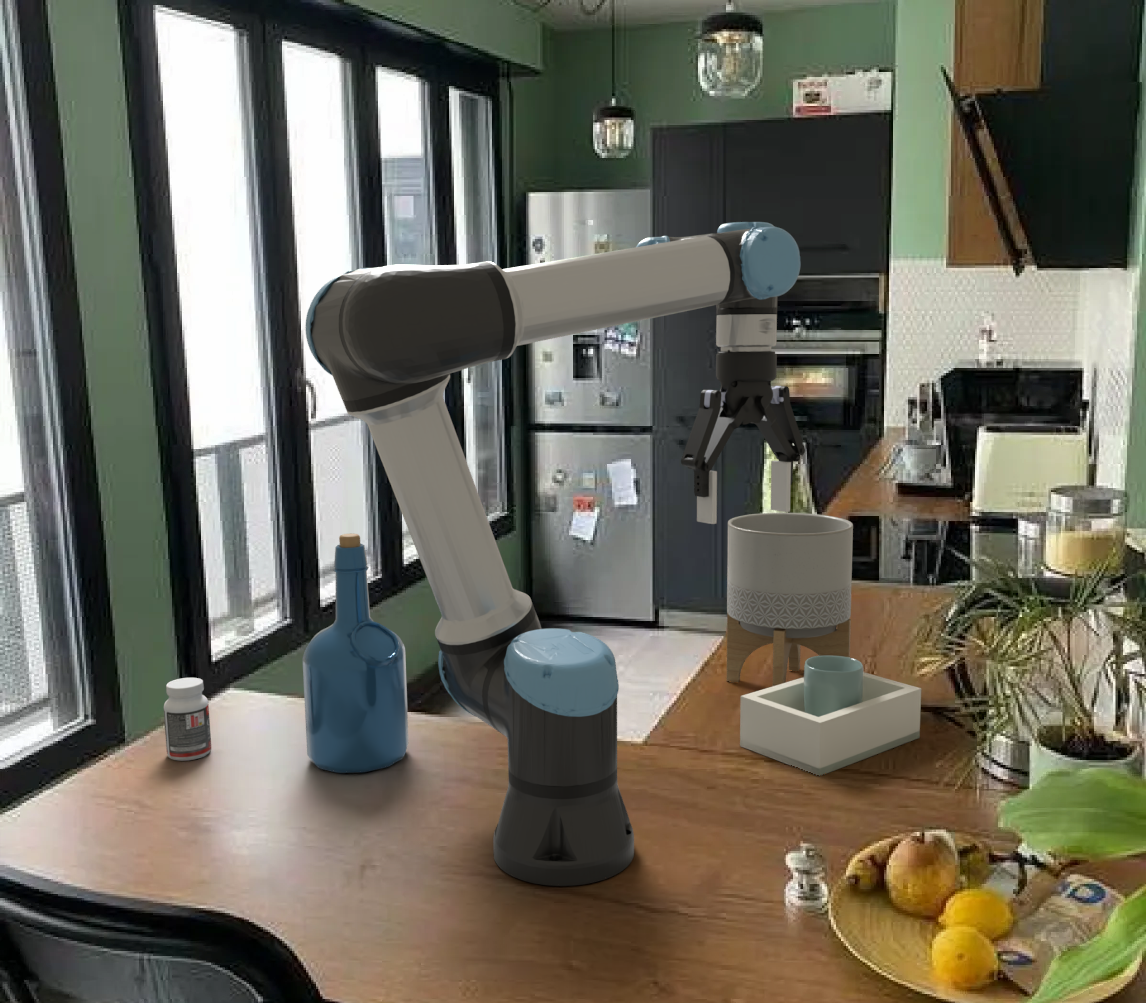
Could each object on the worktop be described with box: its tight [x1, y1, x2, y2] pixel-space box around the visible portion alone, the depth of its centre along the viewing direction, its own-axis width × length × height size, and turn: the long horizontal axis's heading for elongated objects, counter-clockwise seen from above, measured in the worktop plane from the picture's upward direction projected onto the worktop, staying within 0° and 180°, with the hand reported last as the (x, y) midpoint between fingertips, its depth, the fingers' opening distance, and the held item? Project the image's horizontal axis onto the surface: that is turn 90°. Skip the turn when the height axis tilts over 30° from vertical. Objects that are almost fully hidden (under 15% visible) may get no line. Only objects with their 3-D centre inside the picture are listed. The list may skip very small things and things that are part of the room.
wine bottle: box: [302, 533, 409, 774], centre depth 148 cm, size 14×13×30 cm
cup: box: [803, 655, 864, 717], centre depth 153 cm, size 8×8×10 cm
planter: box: [726, 512, 854, 687], centre depth 176 cm, size 19×19×26 cm
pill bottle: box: [163, 677, 212, 762], centre depth 151 cm, size 6×6×10 cm
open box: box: [739, 671, 922, 777], centre depth 153 cm, size 21×14×7 cm, turn 128°
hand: (744, 516), depth 145 cm, fingers open, 13 cm apart
